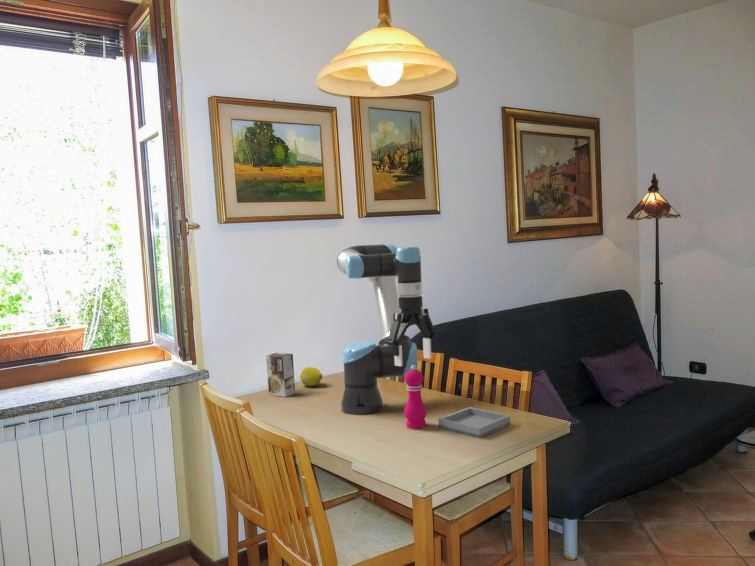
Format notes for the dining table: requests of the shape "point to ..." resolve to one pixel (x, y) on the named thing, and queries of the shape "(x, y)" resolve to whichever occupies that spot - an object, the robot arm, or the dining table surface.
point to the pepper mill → (415, 400)
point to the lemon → (310, 376)
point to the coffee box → (280, 374)
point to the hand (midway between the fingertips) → (413, 362)
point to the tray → (474, 422)
